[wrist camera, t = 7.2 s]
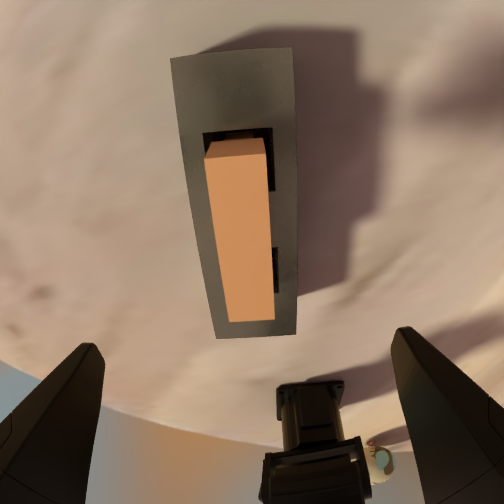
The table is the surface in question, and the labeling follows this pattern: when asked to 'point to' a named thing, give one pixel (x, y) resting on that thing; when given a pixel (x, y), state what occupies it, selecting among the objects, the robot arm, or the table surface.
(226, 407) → the table surface
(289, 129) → the rail
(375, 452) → the figurine
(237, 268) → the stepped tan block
